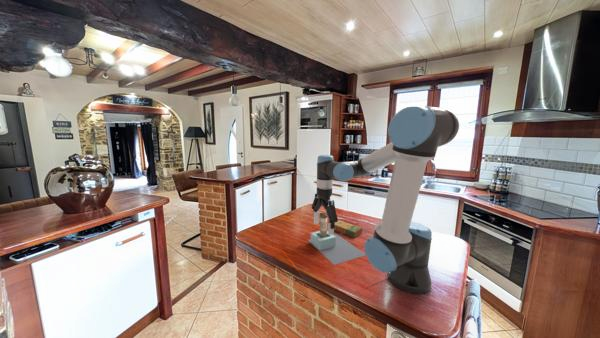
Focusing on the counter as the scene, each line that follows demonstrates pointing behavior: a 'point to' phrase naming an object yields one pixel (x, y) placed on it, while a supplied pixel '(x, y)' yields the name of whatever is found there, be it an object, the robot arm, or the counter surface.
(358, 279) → the counter surface
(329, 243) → the rectangular frame
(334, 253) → the mat
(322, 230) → the tan wooden dowel
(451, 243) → the counter surface
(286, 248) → the counter surface
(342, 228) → the carton
